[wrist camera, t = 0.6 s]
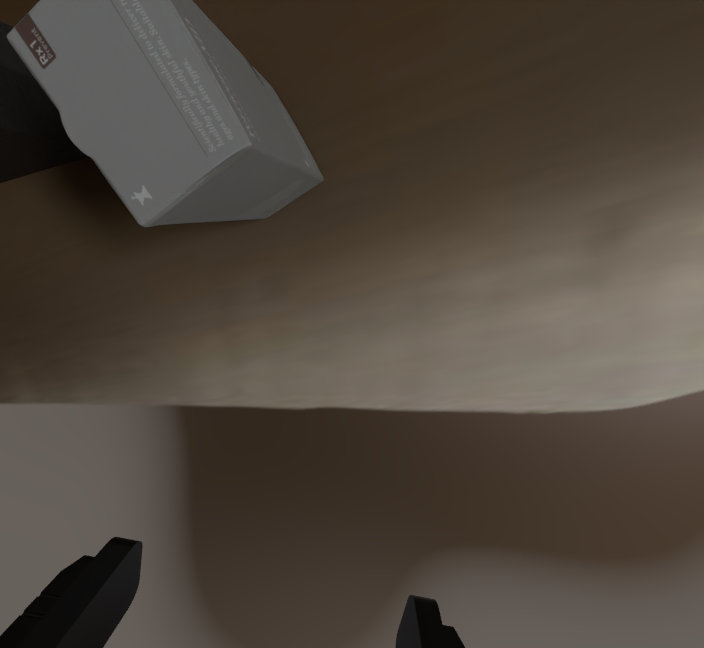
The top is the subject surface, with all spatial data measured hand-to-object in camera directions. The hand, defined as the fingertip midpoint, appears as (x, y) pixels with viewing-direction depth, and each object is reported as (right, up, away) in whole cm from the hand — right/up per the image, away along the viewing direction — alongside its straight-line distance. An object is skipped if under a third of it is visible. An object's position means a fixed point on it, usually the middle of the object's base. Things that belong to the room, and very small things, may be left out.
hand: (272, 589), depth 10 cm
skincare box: (-5, +22, +18) cm, 28 cm away
